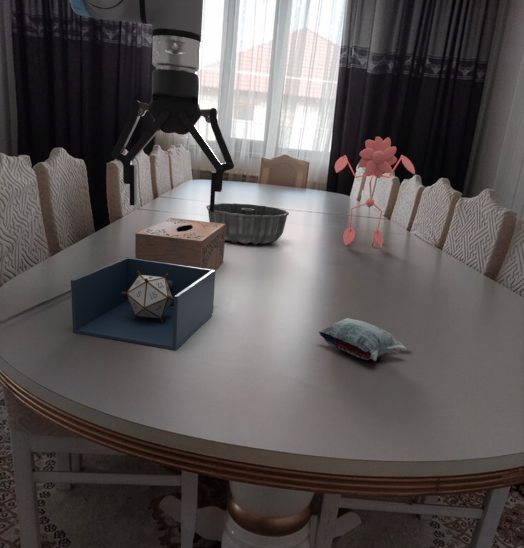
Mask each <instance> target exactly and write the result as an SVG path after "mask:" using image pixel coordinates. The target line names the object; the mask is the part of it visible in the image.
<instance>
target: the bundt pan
mask: <svg viewBox="0 0 524 548" xmlns="http://www.w3.org/2000/svg"><path fill="white" fill-rule="evenodd" d="M205 207H206V210H207V212H208V222H212V223H221V224H226V227H225V241H226V242H232V243H233V244H236V243H241V244H245V245H246V244H247V245H248V244H250V243H251V244H252V245H253V246H254V245H255V246H256V245H258V244H259V245H260V244H261V245H265V244H273V243H275V242H277V241H278V240H279V239H280V238H281V236H282V235H283V234H284V230H285V227H286V222H287V218H288V216H289V214H290V212H289V211H287V210H286V209H281V208H279V207H273V206H266V205H259V204H258V205H257V204H251V203H237V202H236V203H235V202H233V203H225V202H222V203H215V204H214V212H210V204H209V205H206V206H205Z"/></svg>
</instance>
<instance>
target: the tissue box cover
mask: <svg viewBox="0 0 524 548" xmlns="http://www.w3.org/2000/svg"><path fill="white" fill-rule="evenodd" d="M225 227H226V224H221V223H212V222H209V221H203V220H193V219H188V218H187V219H185V218H177V217H169V218H166V219H164V220H162V221H160V222H157V223H155V224H153V225H151V226H147V227H145V228H144V229H142V230H139V231H137V232H135V236H134V237H135V239H134V240H135V241H134V242H135V243H134V245H135V247H134V248H135V249H134V251H135V252H134V253H135V255H134V259H141V260H148V261H155V262H162V263H169V264H176V265H182V266H189V267H196V268H203V269H210V270H215V272H216V271H217V270H218V269H219V268H220V267H221V266H222V265H223V263H224V254H225V241H226V240H225Z"/></svg>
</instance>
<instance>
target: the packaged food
mask: <svg viewBox="0 0 524 548" xmlns="http://www.w3.org/2000/svg"><path fill="white" fill-rule="evenodd" d="M318 333H319V335H320V336H321V337H322V338H323V339H324V341H325V342H326V343H327V344H328V345H329V346H332V347H334V348H335V349H338V350H341V351H343V352H345V353H347V354H348V355H349V354H350V355H351V356H354V357H356V358H359V359H361V360H365V361H368V360H372V361H374V362H377V360H378V357H382V356H384V355H387V354H390V353H395V352H399V351H404V352H406V351H407V347H406V346H405V345H404V344H403V343H402V342H401V341H400V340H398V339H395V337H394V336H393V334H392V333H390V332H388V331H386V330H384V329H383V328H381V327H379V326H377V325H375V324H374V325H373V324H370V323H369V322H366V321H364V320H359V319H353V318H352V319H351V318H350V317H347V318H345V319H342V320H340V321H338V322H335V323H332V324H331V325H330V326H328V327H325V328H323V329H321V330H319V331H318Z"/></svg>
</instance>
